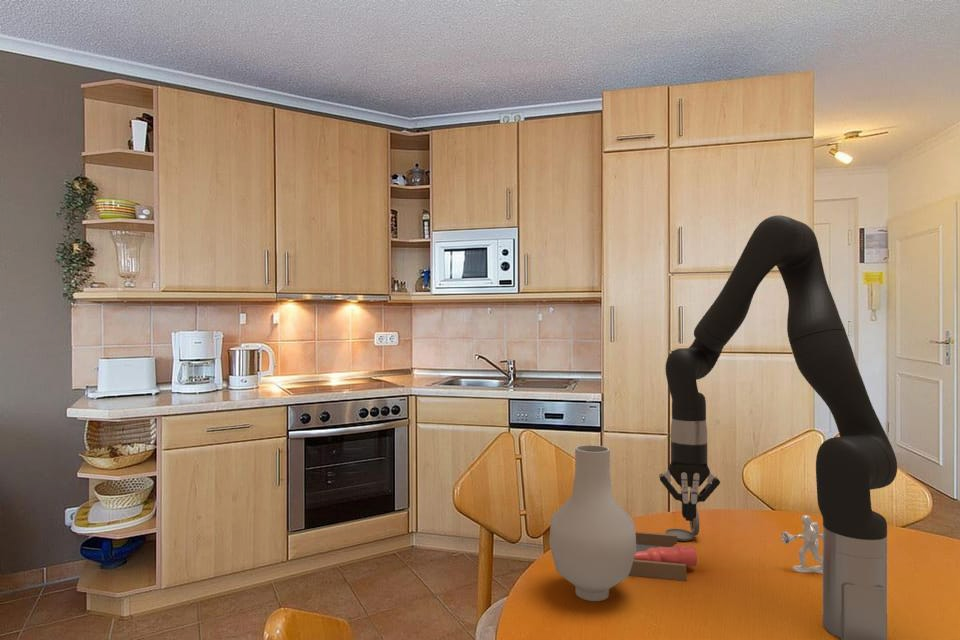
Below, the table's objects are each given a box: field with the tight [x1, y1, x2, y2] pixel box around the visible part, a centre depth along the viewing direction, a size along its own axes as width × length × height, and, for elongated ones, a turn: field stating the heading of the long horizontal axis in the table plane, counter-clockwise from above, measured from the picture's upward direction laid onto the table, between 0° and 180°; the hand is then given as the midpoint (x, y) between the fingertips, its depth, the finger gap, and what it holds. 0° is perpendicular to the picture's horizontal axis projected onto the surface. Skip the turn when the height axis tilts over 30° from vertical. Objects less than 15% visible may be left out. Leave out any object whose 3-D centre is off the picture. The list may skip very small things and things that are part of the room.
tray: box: [628, 530, 687, 582], centre depth 129 cm, size 18×18×3 cm
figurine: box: [780, 514, 823, 575], centre depth 124 cm, size 5×9×12 cm, turn 99°
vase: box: [548, 444, 637, 602], centre depth 113 cm, size 17×16×28 cm
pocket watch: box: [664, 507, 700, 542], centre depth 142 cm, size 8×8×10 cm
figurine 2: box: [634, 543, 698, 567], centre depth 124 cm, size 5×5×15 cm
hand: (689, 519), depth 127 cm, fingers closed
